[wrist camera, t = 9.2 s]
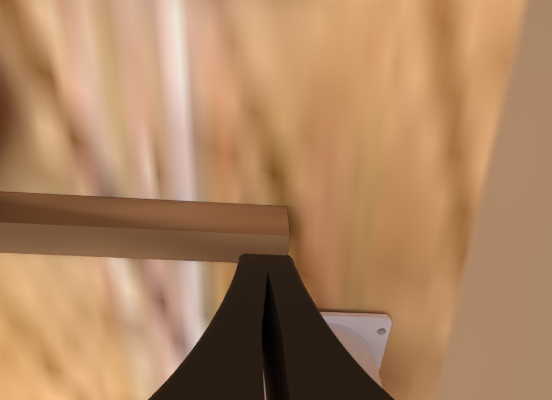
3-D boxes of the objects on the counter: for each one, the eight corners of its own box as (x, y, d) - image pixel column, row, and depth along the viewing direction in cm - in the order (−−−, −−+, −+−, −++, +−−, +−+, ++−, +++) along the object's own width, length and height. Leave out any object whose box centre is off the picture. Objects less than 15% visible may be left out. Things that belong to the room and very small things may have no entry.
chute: (283, 233, 24) (288, 286, 21) (-197, 210, 23) (-278, 264, 19) (319, -97, 17) (335, -99, 14) (-377, -165, 16) (-555, -186, 12)
